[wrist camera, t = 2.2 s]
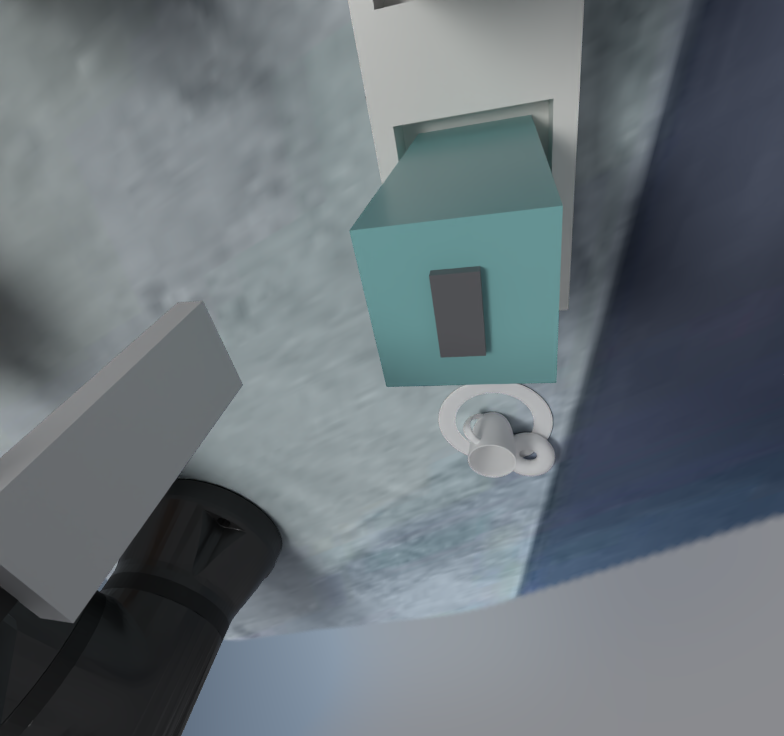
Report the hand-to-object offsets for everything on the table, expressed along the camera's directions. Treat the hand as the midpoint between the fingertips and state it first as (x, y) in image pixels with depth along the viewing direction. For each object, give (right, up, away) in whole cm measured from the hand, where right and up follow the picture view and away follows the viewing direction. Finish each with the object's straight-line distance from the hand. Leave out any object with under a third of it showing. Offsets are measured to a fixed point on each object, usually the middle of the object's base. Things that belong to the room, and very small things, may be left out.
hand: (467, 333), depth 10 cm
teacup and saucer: (+5, -7, +25) cm, 26 cm away
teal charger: (+2, +8, +11) cm, 13 cm away
